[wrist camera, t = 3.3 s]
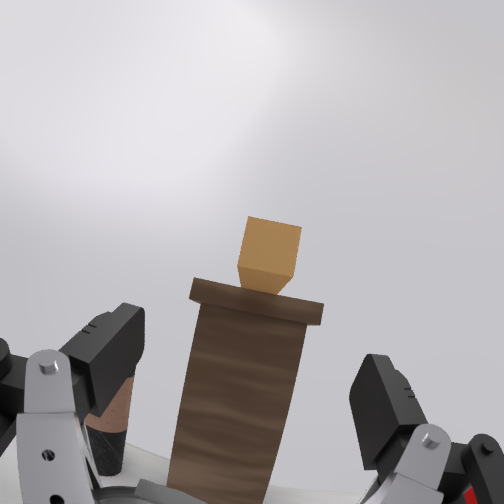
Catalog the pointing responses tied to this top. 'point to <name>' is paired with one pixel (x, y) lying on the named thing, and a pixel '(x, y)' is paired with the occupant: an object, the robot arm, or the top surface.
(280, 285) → the tan block
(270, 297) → the walnut pedestal
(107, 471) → the travel mug
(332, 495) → the top surface
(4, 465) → the top surface
